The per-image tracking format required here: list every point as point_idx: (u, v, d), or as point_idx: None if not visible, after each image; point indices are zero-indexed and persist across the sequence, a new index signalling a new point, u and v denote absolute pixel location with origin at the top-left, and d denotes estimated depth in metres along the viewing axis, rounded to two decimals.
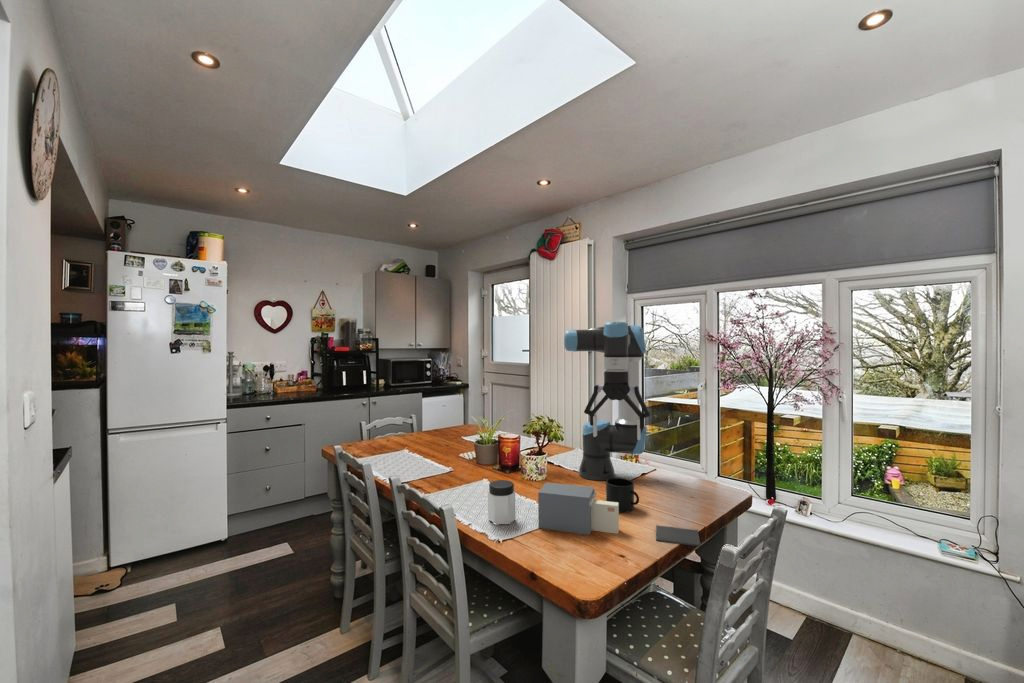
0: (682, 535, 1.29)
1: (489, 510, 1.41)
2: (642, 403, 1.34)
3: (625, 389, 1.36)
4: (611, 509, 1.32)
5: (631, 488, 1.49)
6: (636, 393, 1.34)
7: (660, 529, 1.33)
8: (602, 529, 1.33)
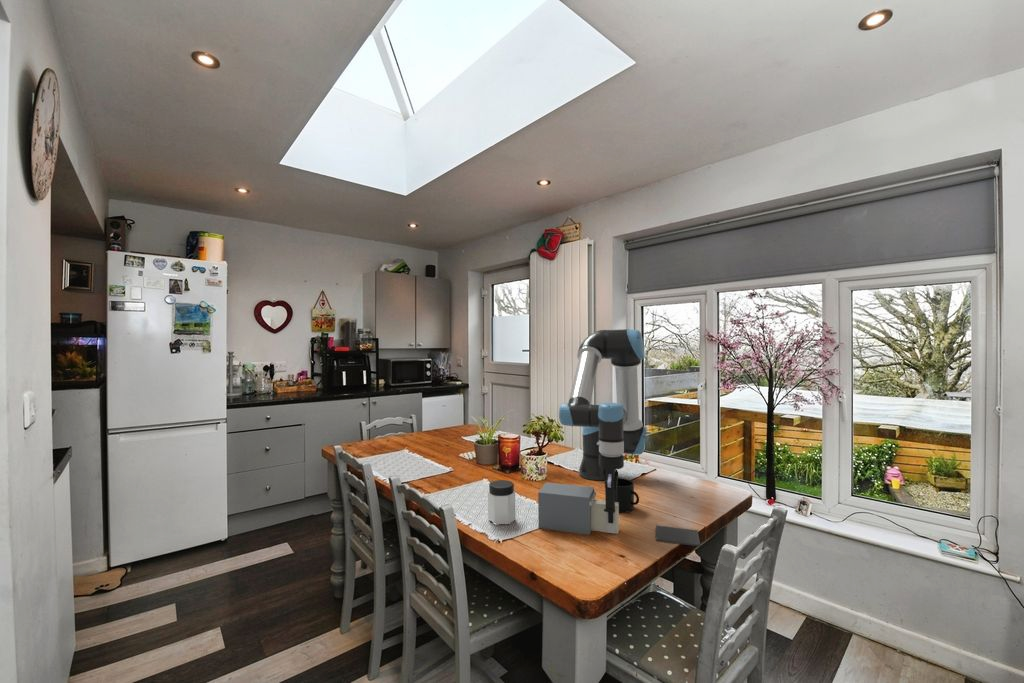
0: (682, 535, 1.29)
1: (489, 510, 1.41)
2: None
3: None
4: None
5: (631, 488, 1.49)
6: (605, 486, 1.29)
7: (660, 529, 1.33)
8: (602, 529, 1.33)
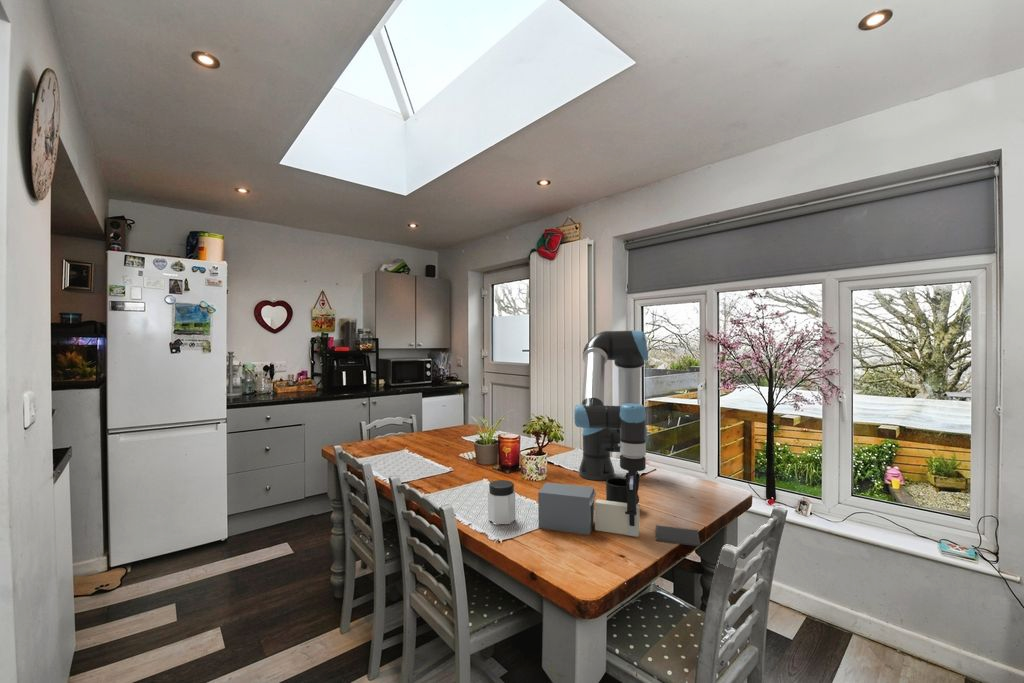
0: (682, 535, 1.29)
1: (489, 510, 1.41)
2: (627, 500, 1.27)
3: (628, 476, 1.29)
4: None
5: None
6: (627, 488, 1.27)
7: (660, 529, 1.33)
8: (622, 531, 1.31)
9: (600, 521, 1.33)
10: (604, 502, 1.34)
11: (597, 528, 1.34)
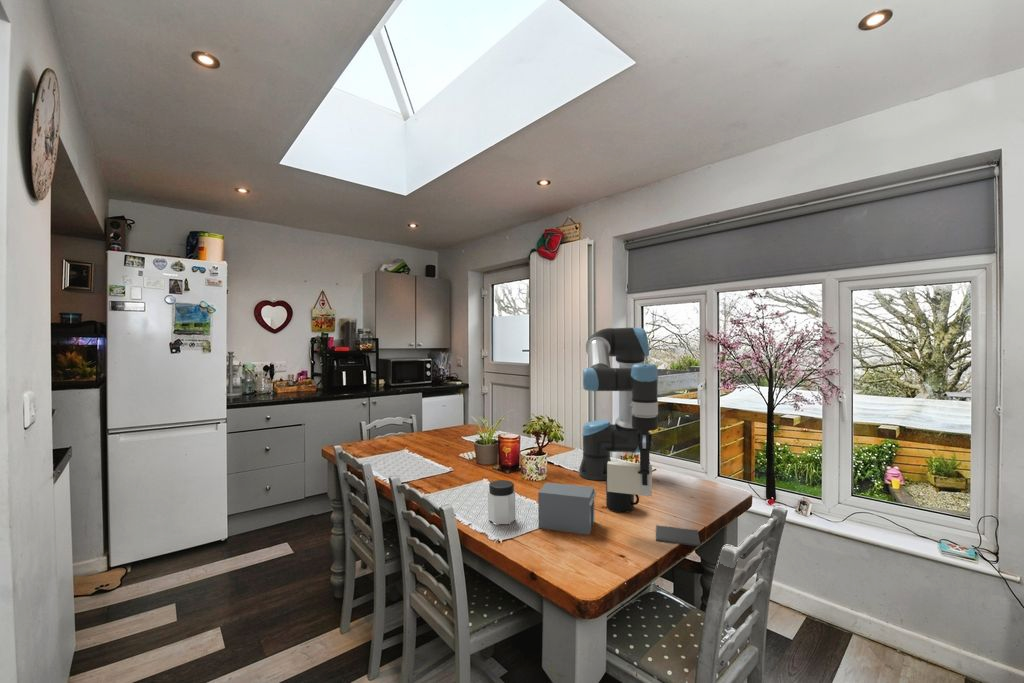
0: (682, 535, 1.29)
1: (489, 510, 1.41)
2: (640, 459, 1.26)
3: (640, 436, 1.28)
4: None
5: None
6: (639, 447, 1.26)
7: (660, 529, 1.33)
8: (635, 492, 1.30)
9: (612, 482, 1.32)
10: (616, 463, 1.33)
11: (609, 489, 1.33)
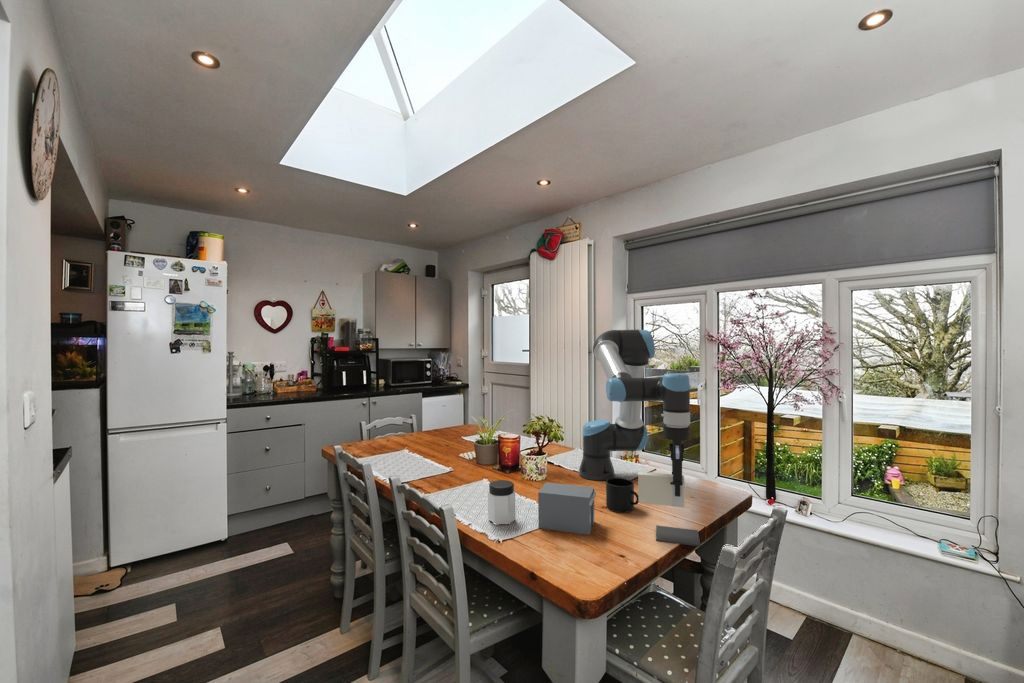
0: (682, 535, 1.29)
1: (489, 510, 1.41)
2: (673, 469, 1.25)
3: (673, 446, 1.27)
4: None
5: (631, 488, 1.49)
6: (672, 457, 1.25)
7: (660, 529, 1.33)
8: (667, 503, 1.29)
9: (644, 493, 1.31)
10: (647, 474, 1.32)
11: (641, 500, 1.31)
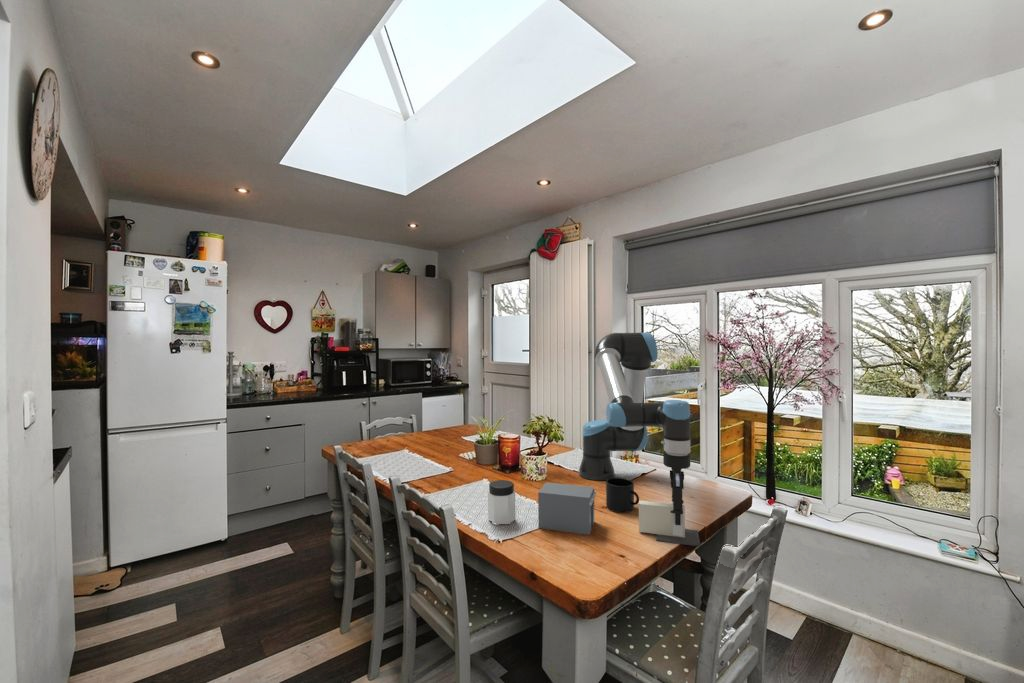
0: None
1: (489, 510, 1.41)
2: None
3: (673, 474, 1.27)
4: None
5: (631, 488, 1.49)
6: (673, 485, 1.25)
7: None
8: (668, 533, 1.29)
9: (644, 523, 1.31)
10: (648, 503, 1.32)
11: (641, 530, 1.32)
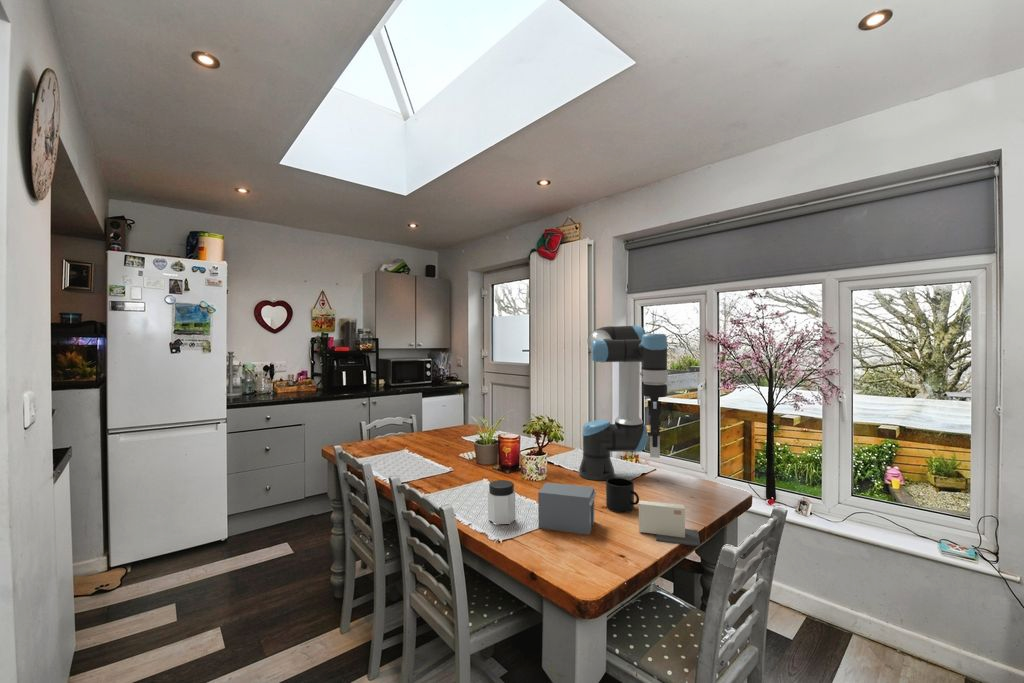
0: None
1: (489, 510, 1.41)
2: (650, 420, 1.28)
3: None
4: (678, 512, 1.28)
5: (631, 488, 1.49)
6: (650, 408, 1.30)
7: None
8: (668, 533, 1.29)
9: (644, 523, 1.31)
10: (648, 503, 1.32)
11: (641, 530, 1.32)
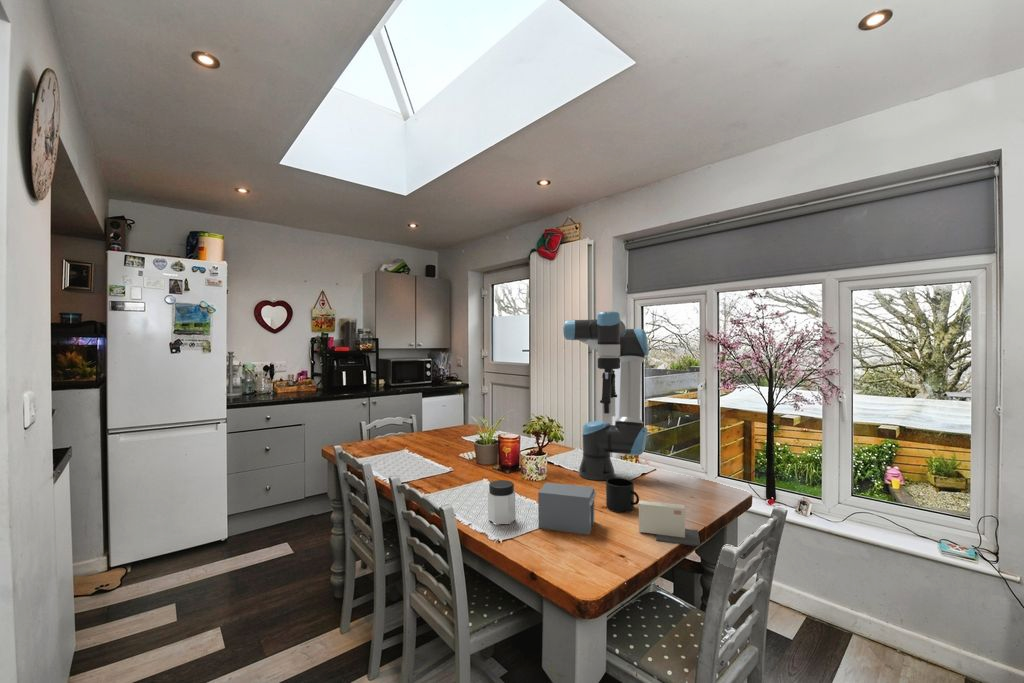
0: None
1: (489, 510, 1.41)
2: None
3: None
4: (678, 512, 1.28)
5: (631, 488, 1.49)
6: (603, 378, 1.42)
7: None
8: (668, 533, 1.29)
9: (644, 523, 1.31)
10: (648, 503, 1.32)
11: (641, 530, 1.32)
